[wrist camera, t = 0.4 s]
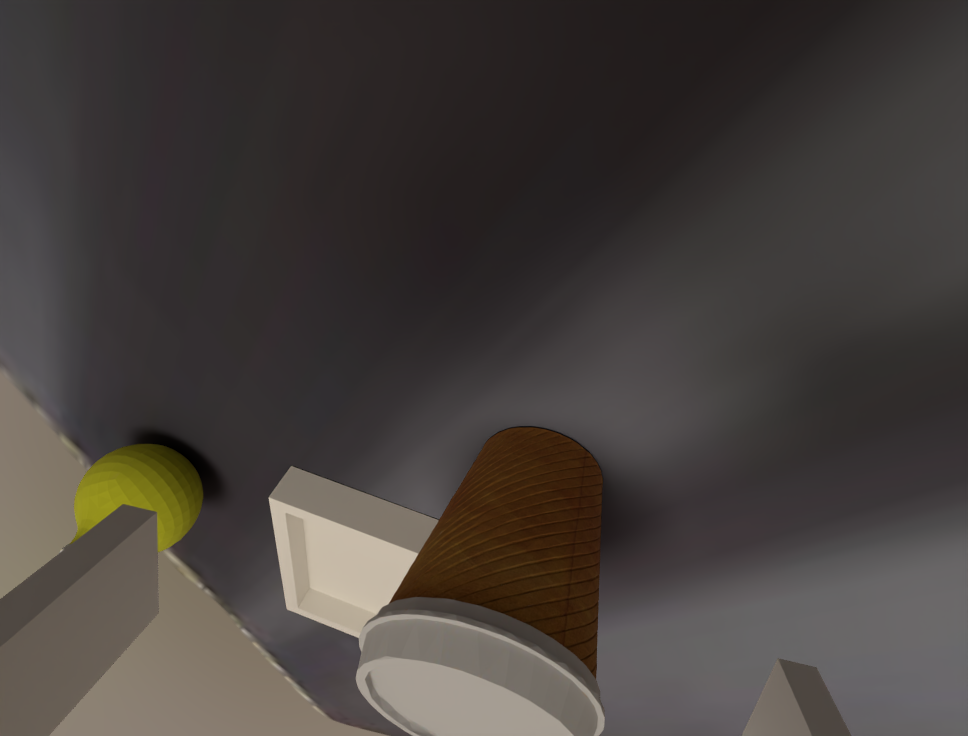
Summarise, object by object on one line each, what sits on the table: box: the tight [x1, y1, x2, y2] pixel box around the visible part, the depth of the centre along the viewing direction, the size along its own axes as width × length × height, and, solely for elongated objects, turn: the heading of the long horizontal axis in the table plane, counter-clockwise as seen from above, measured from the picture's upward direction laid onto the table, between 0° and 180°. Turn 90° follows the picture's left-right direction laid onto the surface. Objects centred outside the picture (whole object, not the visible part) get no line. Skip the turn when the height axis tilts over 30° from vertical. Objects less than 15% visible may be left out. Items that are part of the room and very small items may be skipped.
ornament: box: [59, 444, 203, 553], centre depth 37 cm, size 7×7×10 cm
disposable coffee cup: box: [356, 427, 605, 736], centre depth 25 cm, size 10×10×12 cm
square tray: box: [269, 466, 439, 638], centre depth 40 cm, size 15×15×2 cm
